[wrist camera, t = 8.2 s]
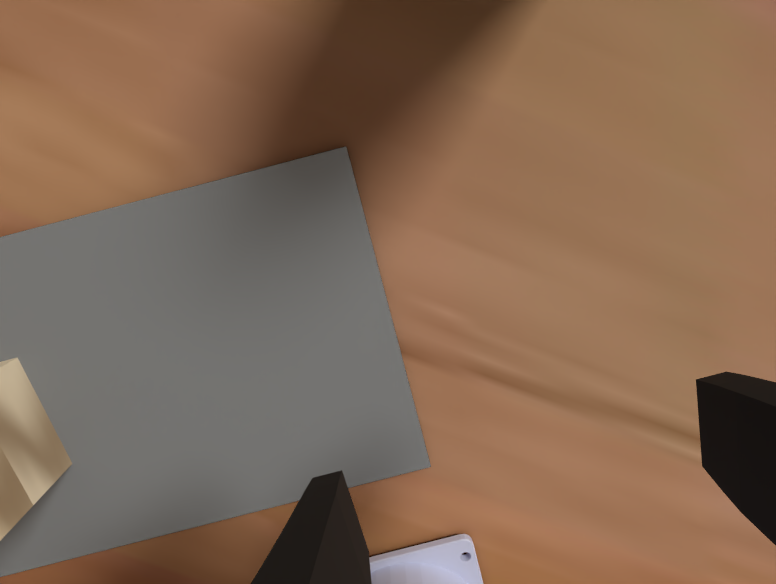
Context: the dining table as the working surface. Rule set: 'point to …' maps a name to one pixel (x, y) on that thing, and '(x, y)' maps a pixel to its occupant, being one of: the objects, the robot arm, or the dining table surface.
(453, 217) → the dining table surface
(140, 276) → the slate mat
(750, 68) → the dining table surface
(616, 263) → the dining table surface
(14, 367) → the tower lower
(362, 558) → the robot arm
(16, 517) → the tower upper
